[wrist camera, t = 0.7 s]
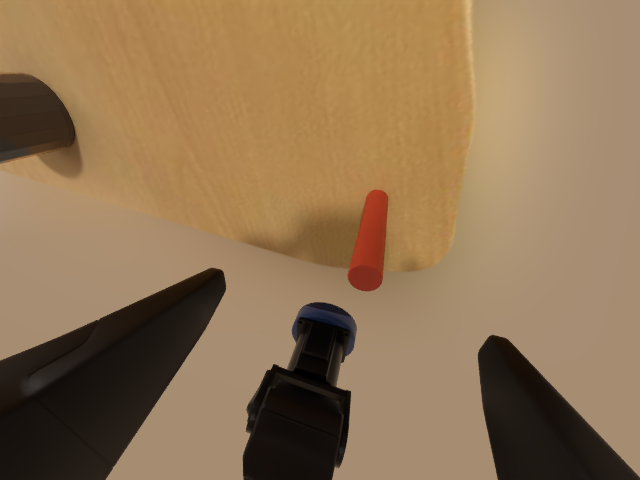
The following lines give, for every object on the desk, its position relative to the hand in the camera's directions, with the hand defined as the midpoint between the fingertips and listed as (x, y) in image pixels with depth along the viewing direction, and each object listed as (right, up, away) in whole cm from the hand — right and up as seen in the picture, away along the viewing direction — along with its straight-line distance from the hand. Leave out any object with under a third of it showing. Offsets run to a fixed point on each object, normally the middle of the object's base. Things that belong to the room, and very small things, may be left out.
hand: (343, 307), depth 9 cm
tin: (-25, +13, +14) cm, 32 cm away
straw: (+4, +5, +10) cm, 12 cm away
